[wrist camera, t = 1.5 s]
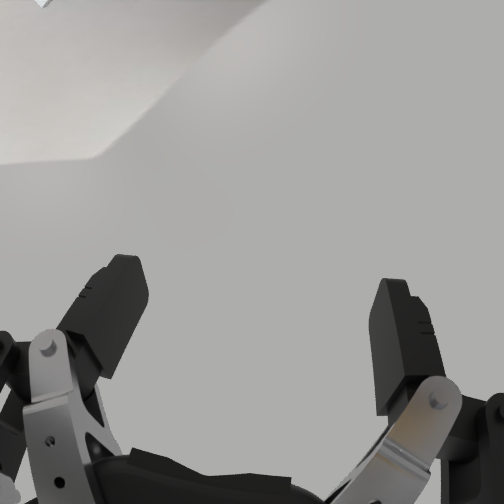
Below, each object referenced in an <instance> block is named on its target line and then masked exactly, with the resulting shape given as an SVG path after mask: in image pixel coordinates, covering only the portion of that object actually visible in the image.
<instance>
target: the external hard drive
mask: <svg viewBox="0 0 504 504" xmlns="http://www.w3.org/2000/svg"><path fill="white" fill-rule="evenodd" d="M50 1H51V0H36V2H37V3H38V4H39V5H40V6H41V8H44V7H46V6H47V5H48V4H49V3H50Z"/></svg>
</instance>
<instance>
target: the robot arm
mask: <svg viewBox="0 0 504 504" xmlns="http://www.w3.org/2000/svg"><path fill="white" fill-rule="evenodd" d="M148 297H149V292H148V287H147V284H146V280H145V276H144V272H143V269H142V265H141V261H140V259H139V258H138V257H137V256H131V255H122V254H117V255H115V256H114V258H113V259H112V260H111V262H110V263H109V265H108V266H107V267H103V268H102V269H100V270H99V271H98V272H97V273H95V274H94V275H93V276H92V277H91V278H90V280H89V281H88V282H87V284H86V285H85V288H84V289H82V291H81V292H80V294H79V297H77V298H76V299H75V301H74V302H73V304H72V305H71V307H70V308H69V310H68V311H67V313H66V314H65V316H64V317H63V319H62V321H61V322H60V324H59V325H58V327H57V328H56V329H49V330H45V331H43V332H41V333H39V334H38V335H37V336H36V337H35V338H34V339H33V340H32V341H31V342H15V341H14V339H13V338H12V336H11V335H10V334H9V333H8V332H6V331H0V393H1V391H2V389H3V387H4V385H5V383H6V384H7V385H8V387H9V388H10V389H11V391H10V394H9V395H8V398H7V400H6V402H5V404H4V406H3V409H2V411H1V413H0V504H17V503H19V502H20V499H21V496H20V494H19V492H18V490H16V489H15V486H14V482H15V479H16V476H17V473H18V470H19V467H20V464H21V461H22V458H23V455H24V453H25V450H26V447H27V451H28V456H29V462H30V467H31V472H32V477H33V482H34V486H35V490H36V494H37V497H36V498H34V499H32V500H30V501H28V502H27V503H25V504H414V502H415V501H416V500H417V498H418V496H419V495H420V494H421V492H422V491H423V489H424V487H425V486H426V484H427V482H428V480H429V478H430V475H431V473H430V471H429V468H430V466H431V464H432V462H433V461H434V459H435V458H437V459H441V504H504V393H497V394H495V395H493V396H492V397H491V398H490V399H489V400H488V401H483V400H478V399H475V398H471V397H467V396H464V395H462V394H461V392H460V390H459V388H458V387H457V385H456V384H455V383H454V382H453V381H451V380H450V379H448V378H446V374H445V370H444V367H443V362H442V358H441V354H440V351H439V346H438V343H437V339H436V336H435V335H434V333H435V332H434V328H433V325H432V324H431V318H430V315H429V312H428V308H427V307H426V306H425V305H424V303H423V302H422V301H421V299H420V298H419V297H415V296H411V295H410V292H409V289H408V285H407V283H406V281H405V280H401V279H387V278H383V279H382V280H381V282H380V285H379V288H378V291H377V294H376V297H375V300H374V303H373V306H372V309H371V312H370V317H369V334H370V343H371V352H372V361H373V372H374V383H375V395H376V411H377V416H388V426H387V427H386V428H385V430H384V431H383V433H382V434H381V435H380V436H379V438H378V439H377V441H376V442H375V443H374V444H373V446H372V447H371V448H370V449H369V451H368V452H367V453H366V455H365V456H364V457H363V458H362V459H361V461H360V462H359V463H358V464H357V465H356V467H355V468H354V469H353V470H352V471H351V472H350V473H349V475H348V476H347V477H346V478H345V479H344V480H343V481H342V482H341V483H340V484H339V485H338V486H337V487H336V488H335V489H334V490H333V491H332V492H331V494H330V495H329V496H328V497H327V498H326V499H325V500H324V501H323V500H321V499H320V498H319V497H317V496H316V495H314V494H313V493H311V492H309V491H308V490H305V489H303V488H301V487H299V486H295V485H292V484H291V477H281V476H269V475H260V474H252V473H247V474H235V475H219V476H206V475H202V474H200V473H198V472H196V471H193V470H191V469H189V468H187V467H185V466H183V465H181V464H179V463H177V462H175V461H173V460H172V459H170V458H167V457H164V456H160V455H156V454H153V453H149V452H146V451H142V450H139V449H136V448H132V449H131V452H130V455H123V454H122V452H121V450H120V448H119V446H118V444H117V442H116V440H115V439H114V437H113V435H112V433H111V431H110V428H109V424H108V421H107V418H106V414H105V411H104V407H103V404H102V400H101V396H100V392H99V388H98V386H97V384H96V382H97V380H98V377H99V376H101V377H104V378H108V379H111V378H112V376H113V374H114V372H115V370H116V367H117V365H118V363H119V361H120V359H121V357H122V354H123V353H124V350H125V348H126V346H127V344H128V342H129V340H130V338H131V336H132V334H133V332H134V330H135V328H136V326H137V324H138V322H139V320H140V318H141V316H142V314H143V312H144V310H145V308H146V306H147V303H148Z"/></svg>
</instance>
